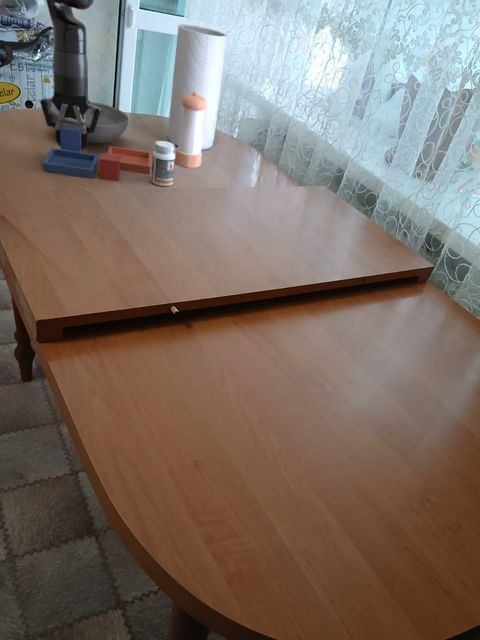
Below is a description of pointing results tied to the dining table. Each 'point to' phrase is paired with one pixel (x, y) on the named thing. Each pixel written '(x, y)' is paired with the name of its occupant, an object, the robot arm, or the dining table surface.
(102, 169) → the red block
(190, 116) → the salt shaker
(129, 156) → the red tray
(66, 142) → the blue block
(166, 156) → the pill bottle
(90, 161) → the blue tray
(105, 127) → the bowl
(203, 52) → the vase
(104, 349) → the dining table surface
